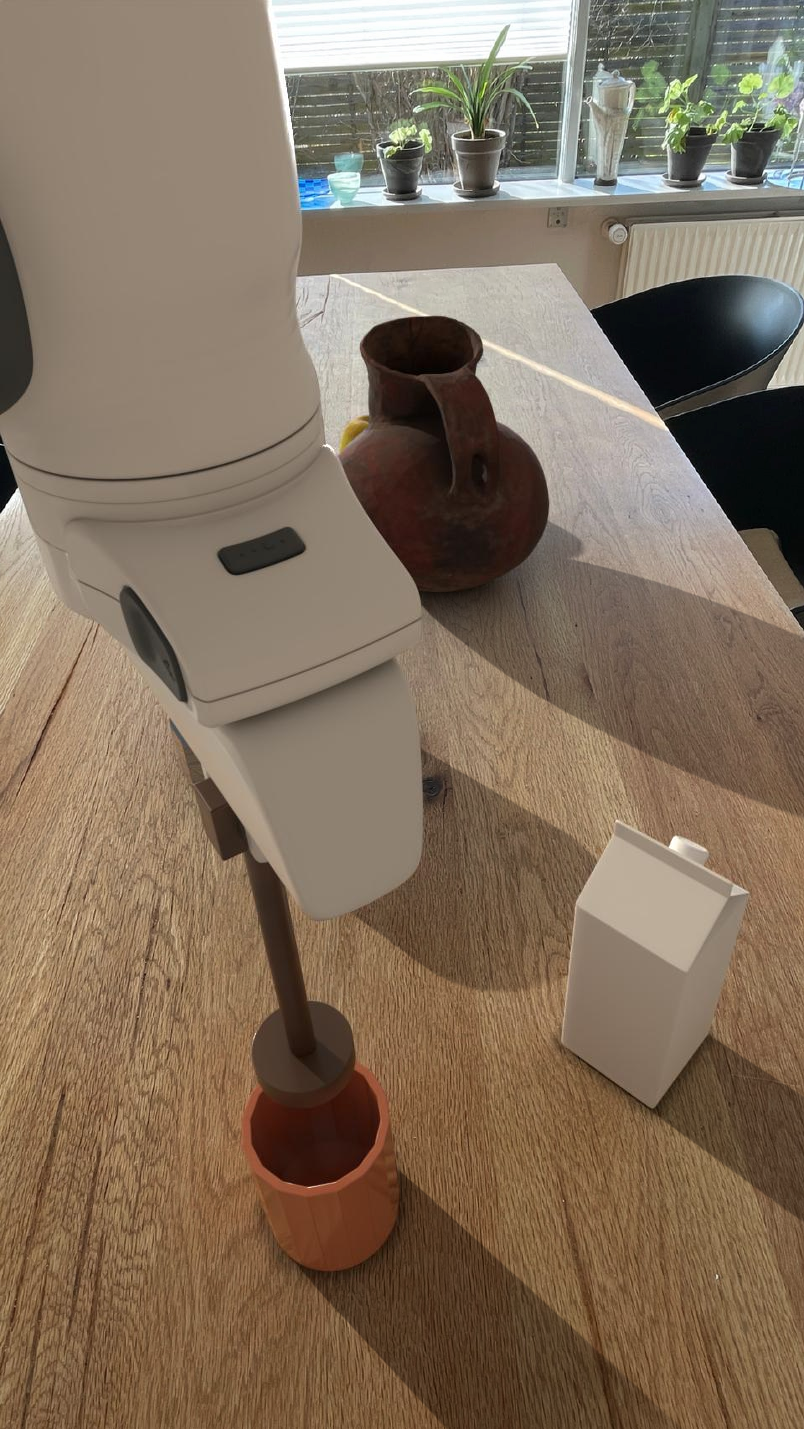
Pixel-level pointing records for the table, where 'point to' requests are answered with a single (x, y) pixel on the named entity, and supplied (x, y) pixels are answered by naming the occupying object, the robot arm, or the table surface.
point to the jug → (442, 459)
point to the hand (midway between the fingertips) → (253, 820)
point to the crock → (325, 1172)
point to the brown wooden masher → (283, 984)
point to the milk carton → (648, 960)
